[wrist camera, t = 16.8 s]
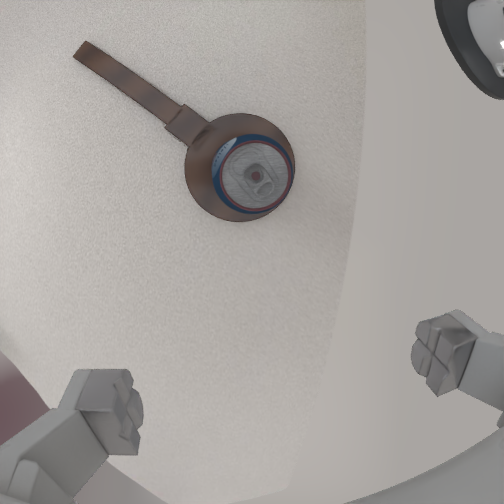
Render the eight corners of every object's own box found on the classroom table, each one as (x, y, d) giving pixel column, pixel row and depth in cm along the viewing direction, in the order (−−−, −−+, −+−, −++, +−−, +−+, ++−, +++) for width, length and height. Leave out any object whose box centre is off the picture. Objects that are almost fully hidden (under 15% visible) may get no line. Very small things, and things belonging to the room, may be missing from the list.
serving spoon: (314, 162, 37) (316, 162, 36) (246, 241, 39) (247, 243, 38) (114, 11, 27) (112, 9, 26) (50, 91, 29) (48, 90, 28)
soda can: (199, 161, 34) (193, 167, 23) (248, 126, 34) (266, 115, 23) (234, 208, 37) (246, 235, 26) (282, 173, 36) (314, 186, 25)
